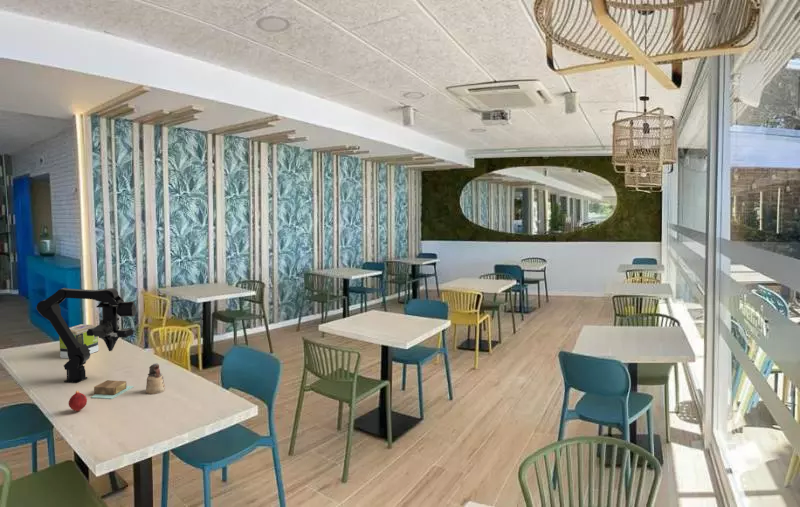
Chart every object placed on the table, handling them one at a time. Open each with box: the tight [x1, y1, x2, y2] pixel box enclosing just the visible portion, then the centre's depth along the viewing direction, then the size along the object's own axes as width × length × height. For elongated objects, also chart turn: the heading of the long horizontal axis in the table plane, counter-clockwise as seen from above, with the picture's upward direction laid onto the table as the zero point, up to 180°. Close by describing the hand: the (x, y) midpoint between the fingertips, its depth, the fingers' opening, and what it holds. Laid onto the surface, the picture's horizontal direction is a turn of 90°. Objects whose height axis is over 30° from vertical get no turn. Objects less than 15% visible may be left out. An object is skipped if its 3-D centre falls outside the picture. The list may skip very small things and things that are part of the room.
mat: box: [90, 385, 134, 400], centre depth 205 cm, size 9×14×1 cm, turn 175°
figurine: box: [145, 363, 166, 395], centre depth 207 cm, size 7×7×12 cm
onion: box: [68, 390, 88, 412], centre depth 185 cm, size 6×6×8 cm
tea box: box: [58, 323, 99, 360], centre depth 256 cm, size 15×10×15 cm, turn 172°
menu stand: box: [93, 380, 127, 395], centre depth 205 cm, size 3×8×9 cm
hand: (110, 350), depth 220 cm, fingers closed
